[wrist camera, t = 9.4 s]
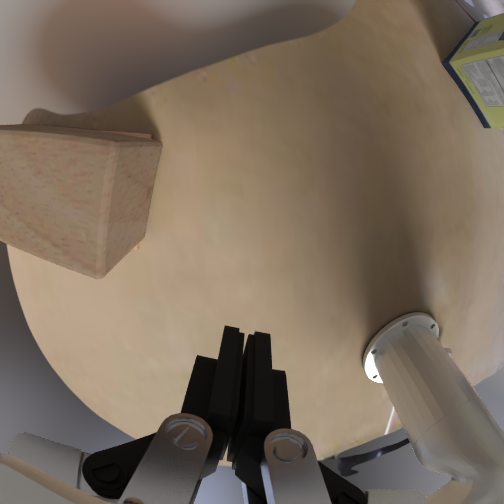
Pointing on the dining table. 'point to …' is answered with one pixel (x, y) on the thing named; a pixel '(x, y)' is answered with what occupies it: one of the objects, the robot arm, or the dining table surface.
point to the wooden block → (75, 194)
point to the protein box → (481, 69)
